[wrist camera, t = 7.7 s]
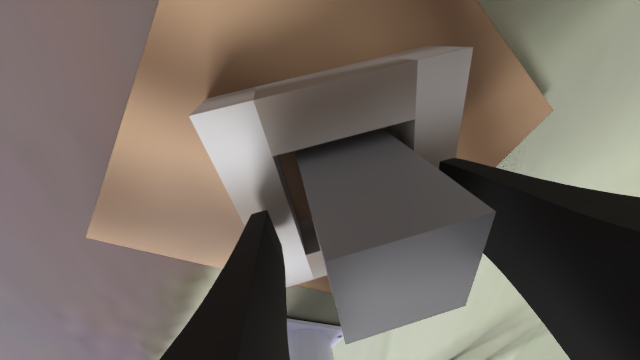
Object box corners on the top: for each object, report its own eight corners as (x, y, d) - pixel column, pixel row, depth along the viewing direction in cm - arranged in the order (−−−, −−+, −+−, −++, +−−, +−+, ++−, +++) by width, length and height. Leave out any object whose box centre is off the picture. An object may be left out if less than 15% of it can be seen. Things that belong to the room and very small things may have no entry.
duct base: (355, 288, 20) (371, 331, 17) (98, 223, 12) (44, 283, 9) (535, 106, 14) (609, 123, 11) (258, -265, 6) (251, -562, 3)
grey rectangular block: (375, 187, 13) (465, 305, 7) (308, 206, 13) (345, 344, 7) (373, 121, 11) (496, 211, 5) (291, 140, 11) (324, 261, 5)
